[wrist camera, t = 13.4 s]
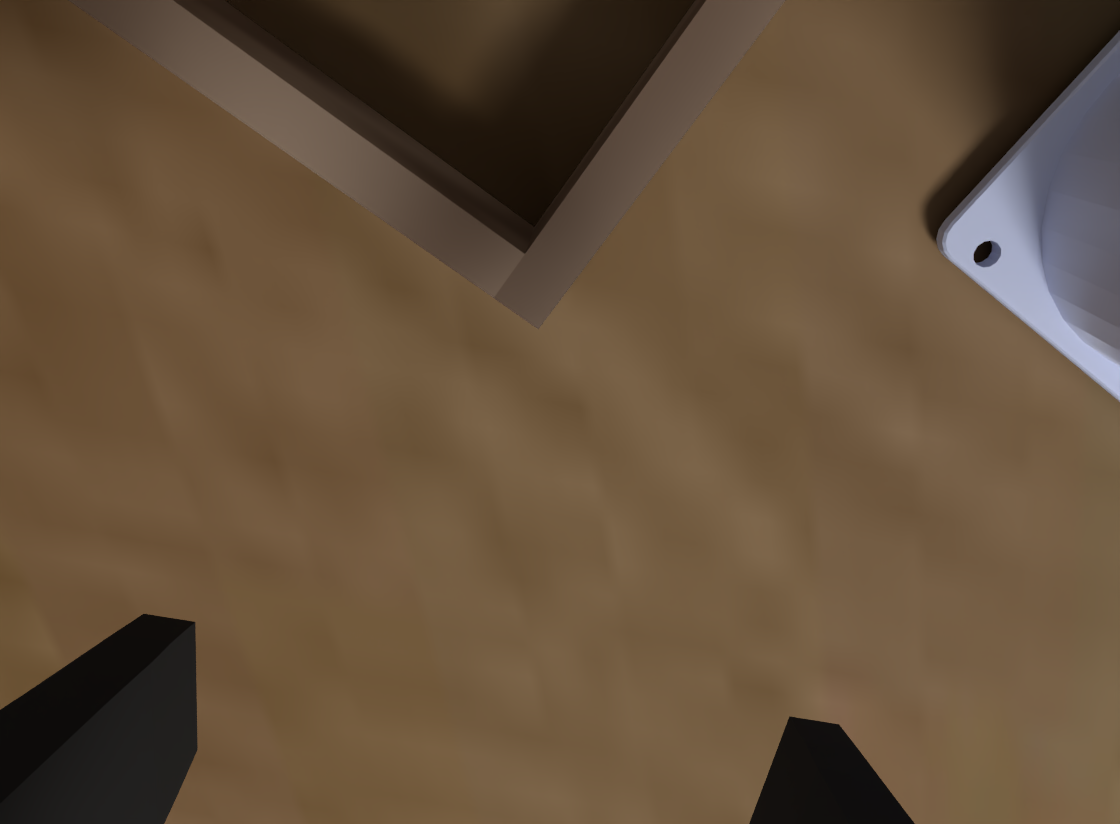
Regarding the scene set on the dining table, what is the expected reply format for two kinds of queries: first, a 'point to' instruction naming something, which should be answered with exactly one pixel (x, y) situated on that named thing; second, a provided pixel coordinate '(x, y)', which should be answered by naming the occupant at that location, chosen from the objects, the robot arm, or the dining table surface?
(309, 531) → the dining table surface
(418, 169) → the brown u-shaped bracket
